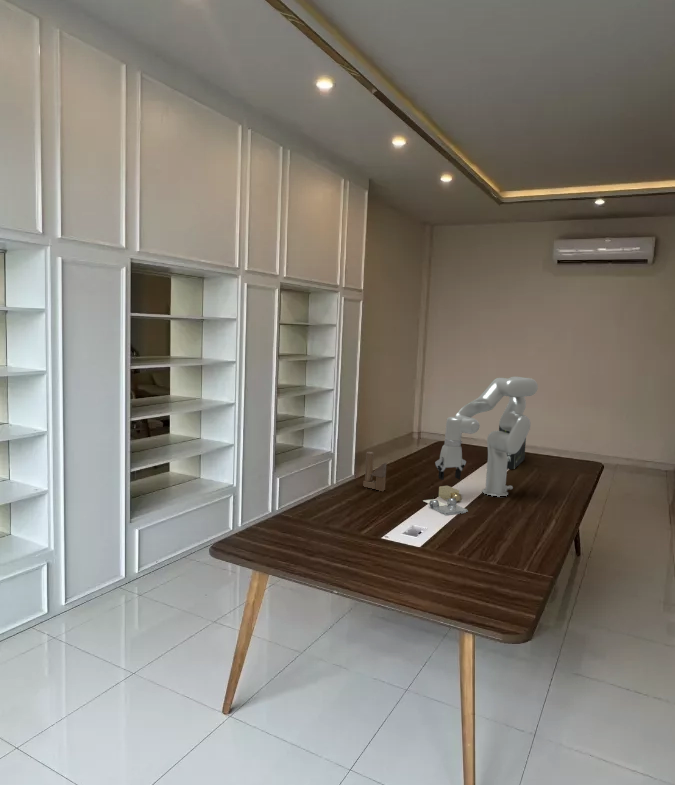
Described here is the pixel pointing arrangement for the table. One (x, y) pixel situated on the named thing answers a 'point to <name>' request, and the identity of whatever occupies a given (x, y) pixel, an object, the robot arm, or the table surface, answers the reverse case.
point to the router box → (515, 458)
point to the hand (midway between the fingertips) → (449, 478)
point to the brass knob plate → (449, 493)
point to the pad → (438, 501)
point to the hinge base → (447, 507)
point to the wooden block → (374, 474)
